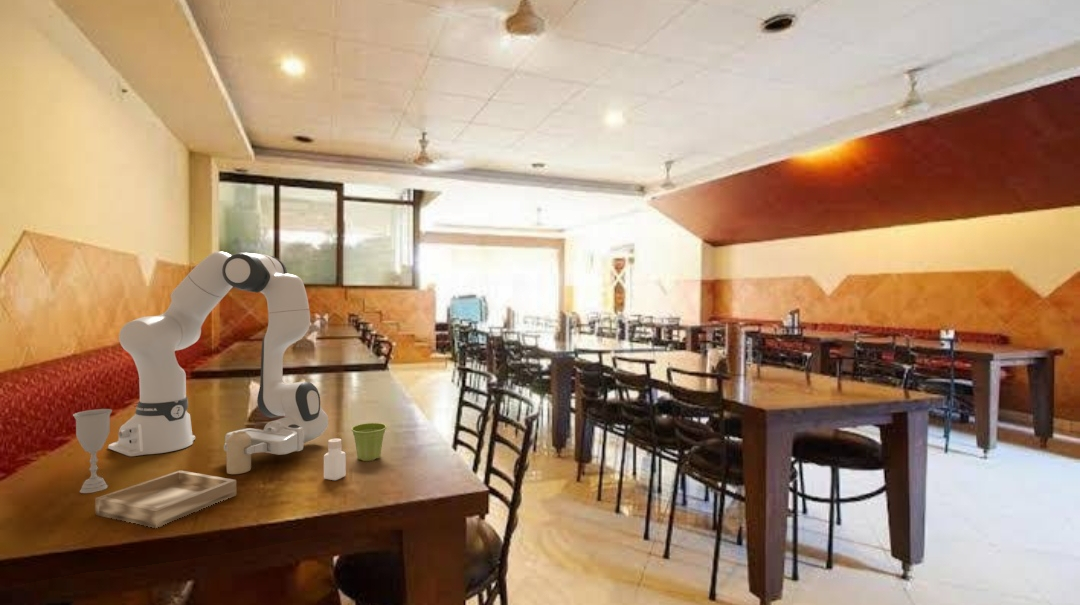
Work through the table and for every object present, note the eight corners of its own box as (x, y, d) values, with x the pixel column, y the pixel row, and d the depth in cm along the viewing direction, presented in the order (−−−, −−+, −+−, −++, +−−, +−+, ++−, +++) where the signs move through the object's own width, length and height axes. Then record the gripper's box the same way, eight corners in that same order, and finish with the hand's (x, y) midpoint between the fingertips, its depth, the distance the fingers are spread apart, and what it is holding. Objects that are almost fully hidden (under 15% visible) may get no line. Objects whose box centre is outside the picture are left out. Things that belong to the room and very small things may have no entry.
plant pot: (386, 461, 144) (386, 430, 144) (350, 464, 142) (350, 432, 141) (386, 451, 153) (386, 422, 153) (352, 454, 151) (352, 424, 150)
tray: (95, 514, 109) (95, 498, 109) (180, 484, 126) (180, 470, 126) (155, 528, 103) (155, 511, 103) (236, 495, 120) (236, 480, 120)
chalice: (93, 482, 127) (92, 408, 126) (121, 483, 126) (120, 409, 126) (65, 494, 119) (64, 416, 119) (94, 495, 119) (93, 416, 119)
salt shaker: (335, 481, 129) (335, 443, 129) (322, 479, 130) (322, 441, 130) (346, 476, 133) (346, 438, 133) (334, 474, 134) (334, 437, 134)
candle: (240, 475, 132) (239, 436, 132) (221, 473, 134) (221, 434, 133) (256, 468, 138) (255, 430, 138) (237, 466, 139) (237, 428, 139)
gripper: (251, 420, 151) (206, 432, 138) (307, 427, 144) (266, 441, 131) (251, 442, 151) (206, 456, 138) (307, 450, 144) (266, 466, 131)
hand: (235, 449), depth 135 cm, fingers closed on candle, 5 cm apart
